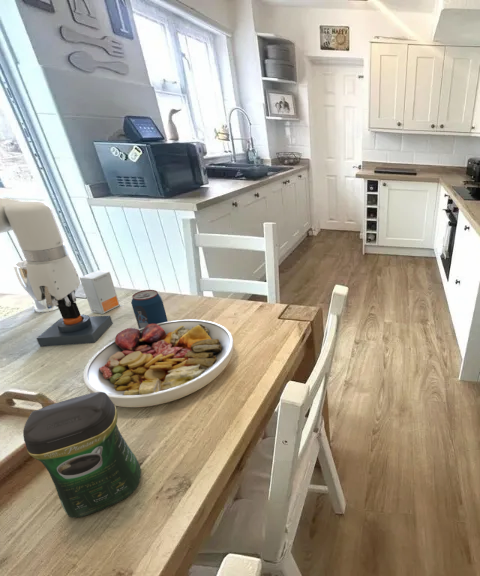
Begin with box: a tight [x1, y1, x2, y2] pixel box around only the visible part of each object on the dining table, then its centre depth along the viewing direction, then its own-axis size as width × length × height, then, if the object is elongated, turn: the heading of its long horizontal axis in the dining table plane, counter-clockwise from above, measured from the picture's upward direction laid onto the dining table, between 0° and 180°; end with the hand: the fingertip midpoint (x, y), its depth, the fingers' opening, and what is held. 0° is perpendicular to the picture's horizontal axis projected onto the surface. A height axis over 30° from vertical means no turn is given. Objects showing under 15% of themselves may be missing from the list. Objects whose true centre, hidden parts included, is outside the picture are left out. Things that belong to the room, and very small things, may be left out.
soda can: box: [130, 289, 169, 329], centre depth 91 cm, size 7×7×12 cm
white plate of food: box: [82, 319, 235, 408], centre depth 78 cm, size 30×30×8 cm
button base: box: [36, 313, 114, 348], centre depth 89 cm, size 12×10×4 cm
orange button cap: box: [63, 314, 82, 325], centre depth 88 cm, size 4×4×2 cm
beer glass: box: [12, 259, 59, 314], centre depth 97 cm, size 7×7×15 cm
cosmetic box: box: [79, 269, 120, 315], centre depth 100 cm, size 6×4×12 cm
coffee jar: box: [22, 392, 142, 519], centre depth 49 cm, size 10×8×19 cm
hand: (71, 316), depth 87 cm, fingers closed
